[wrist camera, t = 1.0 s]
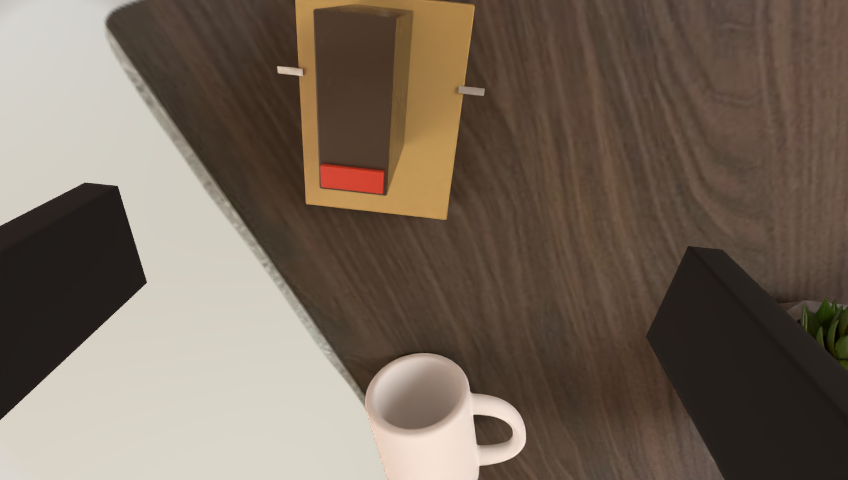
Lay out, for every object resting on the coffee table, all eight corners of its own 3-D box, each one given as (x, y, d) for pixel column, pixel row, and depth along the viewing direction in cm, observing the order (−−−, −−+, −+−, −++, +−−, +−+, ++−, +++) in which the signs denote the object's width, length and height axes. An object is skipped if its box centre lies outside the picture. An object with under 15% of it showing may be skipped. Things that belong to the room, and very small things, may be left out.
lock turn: (353, 3, 21) (310, 8, 15) (413, 10, 21) (395, 18, 15) (352, 140, 25) (317, 191, 19) (403, 146, 25) (385, 198, 19)
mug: (394, 429, 41) (381, 517, 34) (374, 354, 36) (354, 439, 29) (520, 425, 40) (534, 517, 33) (517, 346, 35) (532, 434, 28)
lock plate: (283, -52, 22) (267, -56, 20) (499, -29, 22) (503, -32, 20) (298, 189, 29) (287, 203, 27) (463, 208, 29) (463, 223, 27)
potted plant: (643, 422, 33) (737, 311, 22) (726, 332, 38) (835, 206, 28) (820, 577, 26) (1078, 525, 16) (892, 442, 32) (1123, 332, 21)
